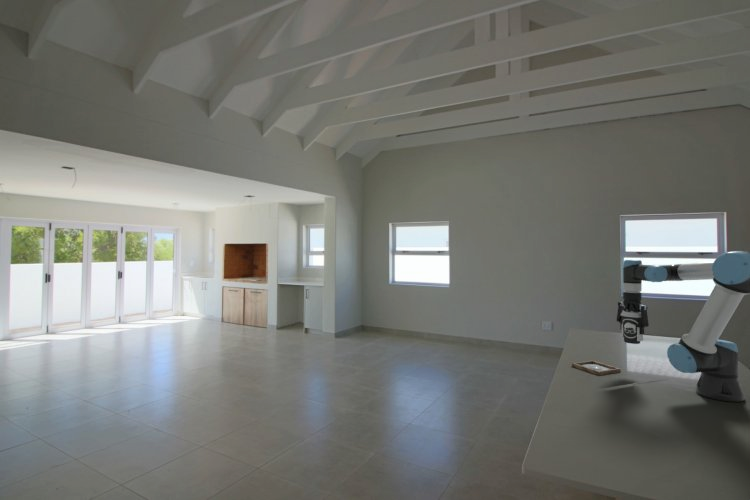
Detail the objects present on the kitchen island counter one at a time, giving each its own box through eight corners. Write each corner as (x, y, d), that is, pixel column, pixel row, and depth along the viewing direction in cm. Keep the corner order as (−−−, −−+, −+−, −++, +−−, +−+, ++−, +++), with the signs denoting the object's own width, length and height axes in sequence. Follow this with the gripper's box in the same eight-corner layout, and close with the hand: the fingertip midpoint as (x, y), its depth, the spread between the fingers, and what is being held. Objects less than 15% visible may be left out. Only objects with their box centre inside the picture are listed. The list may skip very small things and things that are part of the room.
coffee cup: (648, 344, 186) (648, 313, 186) (627, 344, 187) (627, 313, 187) (636, 339, 196) (636, 309, 196) (616, 339, 196) (616, 309, 196)
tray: (620, 374, 193) (620, 368, 193) (599, 377, 188) (599, 371, 188) (592, 365, 208) (592, 360, 208) (572, 368, 203) (571, 363, 203)
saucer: (617, 371, 194) (617, 369, 194) (597, 374, 190) (597, 372, 190) (594, 364, 207) (594, 362, 207) (575, 367, 202) (575, 365, 202)
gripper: (658, 293, 182) (658, 343, 183) (619, 289, 202) (619, 333, 202) (646, 294, 180) (646, 344, 181) (607, 289, 200) (607, 334, 200)
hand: (631, 338), depth 191 cm, fingers closed on coffee cup, 7 cm apart
